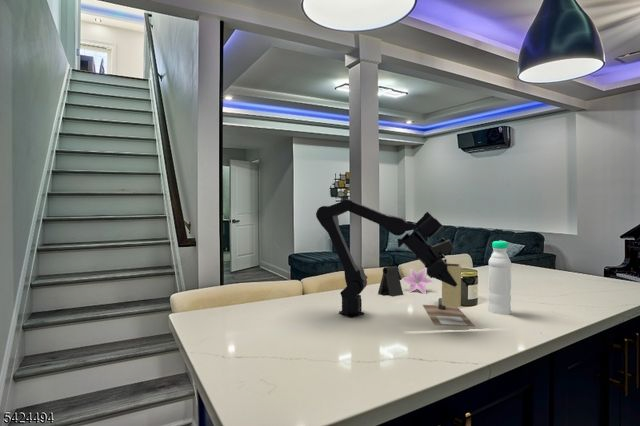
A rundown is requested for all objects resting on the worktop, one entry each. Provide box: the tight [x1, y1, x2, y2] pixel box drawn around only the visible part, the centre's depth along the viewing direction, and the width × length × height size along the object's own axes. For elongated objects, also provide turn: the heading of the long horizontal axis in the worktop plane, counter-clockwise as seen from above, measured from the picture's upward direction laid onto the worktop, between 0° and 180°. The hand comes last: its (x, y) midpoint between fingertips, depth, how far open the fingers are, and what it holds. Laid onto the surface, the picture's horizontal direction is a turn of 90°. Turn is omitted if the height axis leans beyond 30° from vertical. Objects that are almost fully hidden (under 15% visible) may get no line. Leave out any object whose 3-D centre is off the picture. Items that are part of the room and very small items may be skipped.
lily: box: [400, 267, 433, 295], centre depth 156 cm, size 12×12×10 cm
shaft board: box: [422, 297, 476, 330], centre depth 120 cm, size 22×12×4 cm, turn 174°
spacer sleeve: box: [441, 262, 462, 308], centre depth 114 cm, size 5×5×12 cm
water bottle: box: [487, 240, 512, 315], centre depth 123 cm, size 7×7×25 cm
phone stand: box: [377, 265, 404, 298], centre depth 149 cm, size 9×6×12 cm, turn 32°
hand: (455, 283), depth 113 cm, fingers closed on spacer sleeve, 5 cm apart
